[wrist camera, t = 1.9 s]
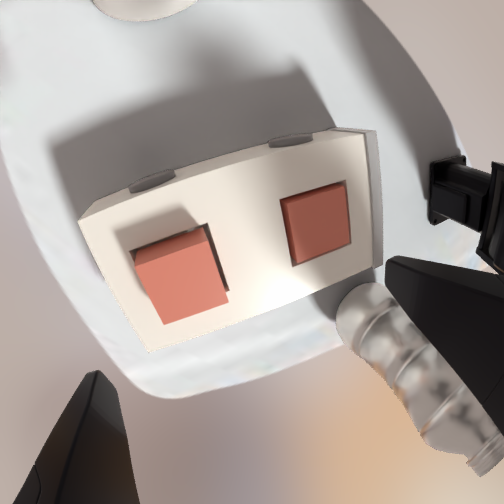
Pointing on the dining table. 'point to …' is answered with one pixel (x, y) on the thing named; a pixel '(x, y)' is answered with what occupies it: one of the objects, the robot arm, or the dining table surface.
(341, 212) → the inner button
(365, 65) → the dining table surface
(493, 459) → the plastic bottle
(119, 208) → the switch panel
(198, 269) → the outer button
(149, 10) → the milk bottle
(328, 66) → the dining table surface
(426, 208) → the dining table surface
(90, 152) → the dining table surface
